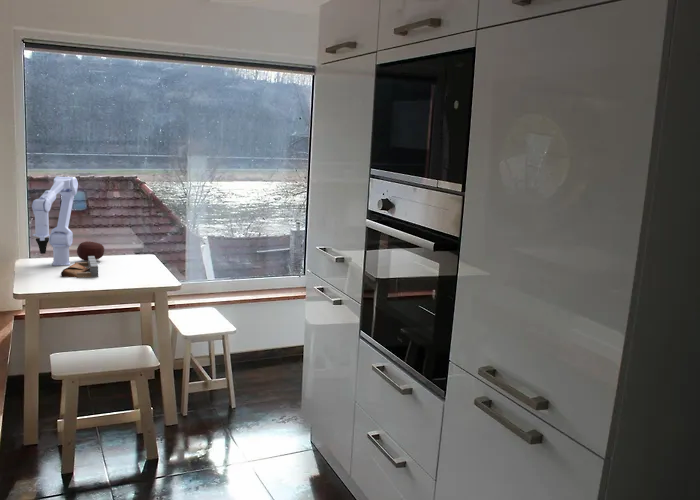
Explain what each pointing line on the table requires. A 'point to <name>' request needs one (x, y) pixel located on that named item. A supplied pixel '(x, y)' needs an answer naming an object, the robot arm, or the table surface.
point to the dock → (92, 268)
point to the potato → (90, 250)
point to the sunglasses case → (73, 270)
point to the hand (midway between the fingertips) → (42, 253)
